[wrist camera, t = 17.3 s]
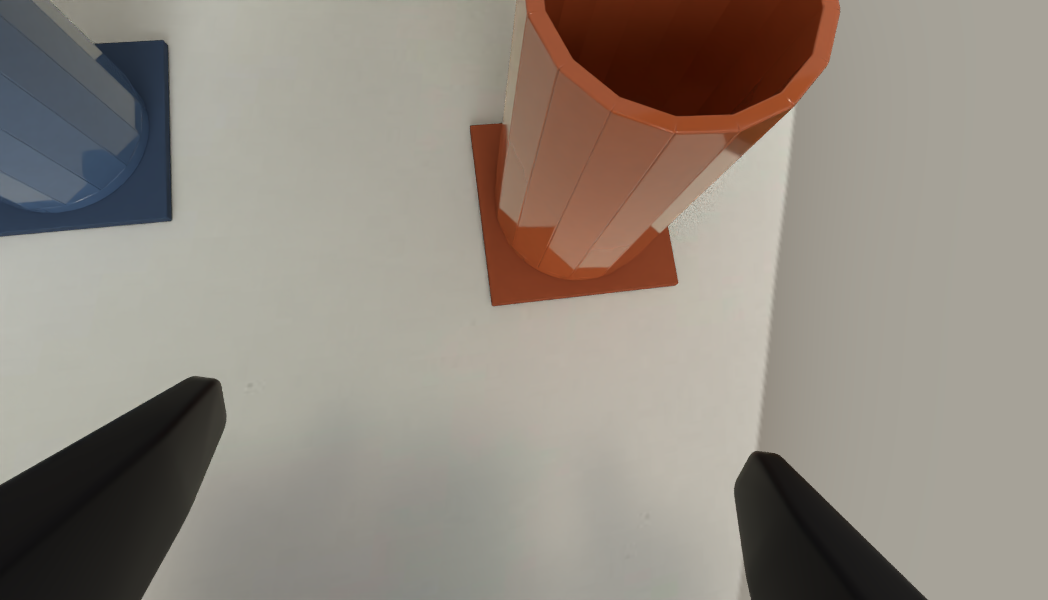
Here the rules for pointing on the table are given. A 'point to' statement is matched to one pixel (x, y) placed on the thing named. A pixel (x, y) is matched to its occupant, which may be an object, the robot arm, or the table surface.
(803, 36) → the terracotta cup
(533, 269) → the rust mat
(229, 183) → the table surface
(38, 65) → the blue cup
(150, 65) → the blue mat
